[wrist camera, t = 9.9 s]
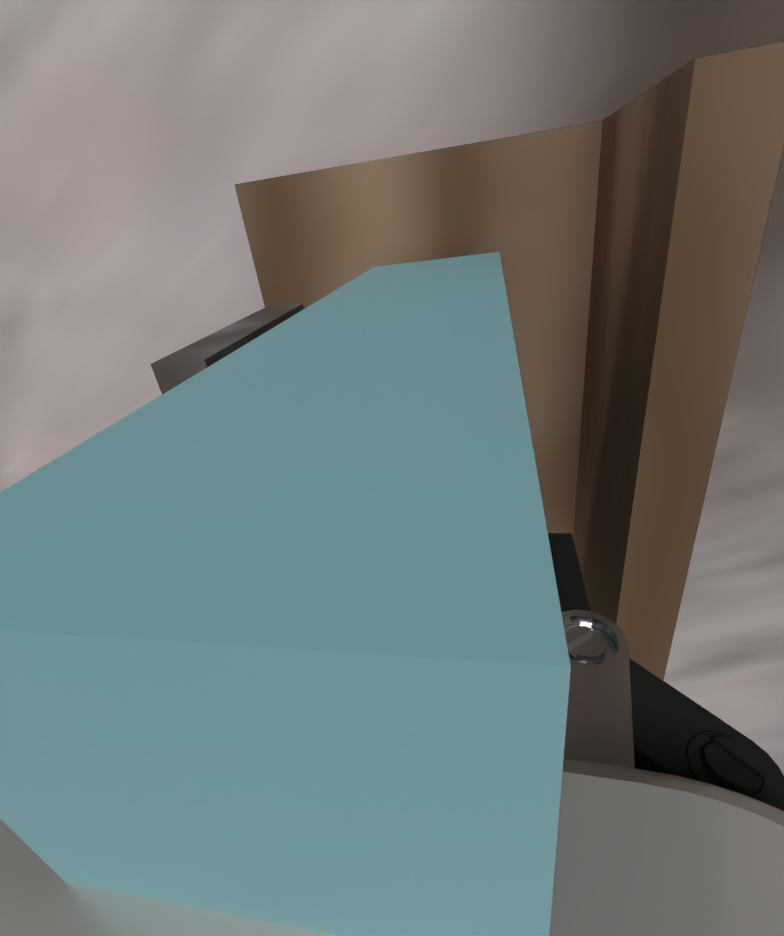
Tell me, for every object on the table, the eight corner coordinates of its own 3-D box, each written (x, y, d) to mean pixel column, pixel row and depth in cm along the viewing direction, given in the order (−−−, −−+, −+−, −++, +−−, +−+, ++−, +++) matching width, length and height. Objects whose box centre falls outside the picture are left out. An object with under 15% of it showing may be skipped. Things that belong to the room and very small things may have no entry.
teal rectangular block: (499, 251, 14) (572, 664, 2) (504, 555, 20) (529, 1174, 7) (373, 266, 15) (-208, 616, 3) (412, 553, 21) (294, 1105, 8)
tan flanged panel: (645, 118, 14) (808, 37, 7) (597, 572, 23) (647, 748, 16) (253, 185, 17) (78, 176, 10) (342, 567, 26) (284, 713, 18)
